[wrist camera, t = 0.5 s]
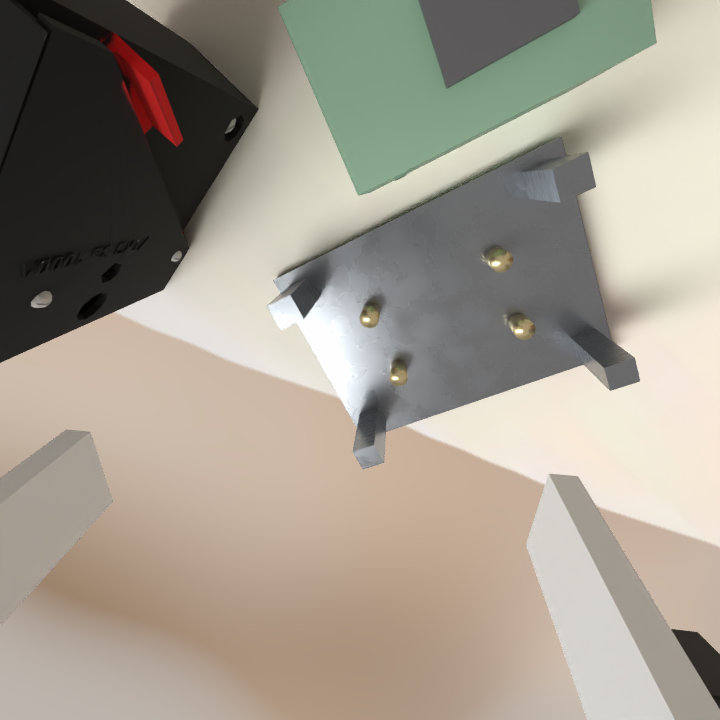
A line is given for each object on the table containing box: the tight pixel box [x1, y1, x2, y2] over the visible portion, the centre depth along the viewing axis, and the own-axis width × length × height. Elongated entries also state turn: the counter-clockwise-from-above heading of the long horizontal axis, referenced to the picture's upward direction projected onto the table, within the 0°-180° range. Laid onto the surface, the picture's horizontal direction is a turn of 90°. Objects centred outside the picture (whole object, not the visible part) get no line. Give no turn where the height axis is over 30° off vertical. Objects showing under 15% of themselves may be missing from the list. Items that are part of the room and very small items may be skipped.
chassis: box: [267, 137, 640, 469], centre depth 30 cm, size 18×24×7 cm
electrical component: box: [0, 0, 258, 363], centre depth 22 cm, size 18×10×20 cm, turn 138°
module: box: [278, 0, 656, 195], centre depth 22 cm, size 9×15×11 cm, turn 115°
